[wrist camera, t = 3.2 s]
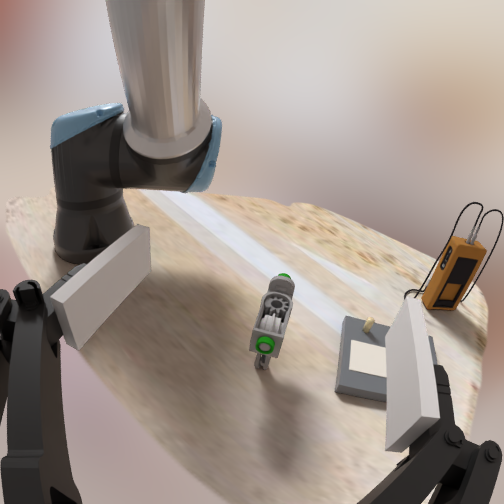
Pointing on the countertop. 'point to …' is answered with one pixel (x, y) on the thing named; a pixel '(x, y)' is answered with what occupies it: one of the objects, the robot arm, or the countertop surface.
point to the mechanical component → (272, 320)
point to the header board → (364, 359)
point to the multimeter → (455, 270)
